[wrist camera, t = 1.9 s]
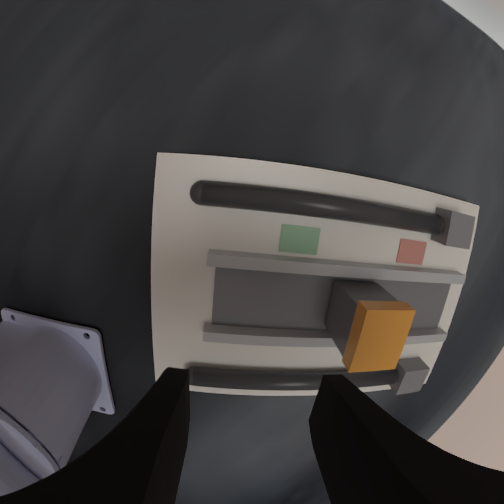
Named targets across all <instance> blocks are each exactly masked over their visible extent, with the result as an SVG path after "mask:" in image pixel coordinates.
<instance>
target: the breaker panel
mask: <svg viewBox="0 0 504 504" xmlns="http://www.w3.org/2000/svg"><path fill="white" fill-rule="evenodd" d="M478 212H479V206H478V205H475V204H471V203H468V202H465V201H461V200H458V199H454V198H451V197H447V196H444V195H440V194H436V193H432V192H429V191H425V190H421V189H417V188H413V187H409V186H404V185H400V184H396V183H391V182H387V181H382V180H377V179H373V178H368V177H363V176H358V175H352V174H347V173H342V172H336V171H330V170H324V169H318V168H312V167H306V166H299V165H292V164H285V163H277V162H269V161H261V160H252V159H242V158H232V157H221V156H209V155H195V154H178V153H157V161H156V172H155V184H154V198H153V215H152V240H151V312H152V337H153V354H154V368H155V379H156V381H157V380H158V378H159V377H160V376H161V374H162V373H163V371H164V370H165V369H166V368H168V367H173V368H181V369H189V391H197V392H208V393H220V394H236V395H261V396H306V395H317V394H318V390H319V387H320V384H321V381H322V377H323V375H336V374H342V375H343V376H345V377H346V378H347V379H348V380H349V381H351V382H352V383H353V384H354V385H355V386H356V387H358V388H359V389H360V390H361V391H362V392H369V391H378V390H386V389H392V390H393V392H394V393H395V395H399V394H405V393H411V392H417V391H420V389H421V387H422V385H423V384H425V383H426V381H427V379H428V377H429V375H430V373H431V370H432V368H433V366H434V364H435V361H436V359H437V357H438V354H439V352H440V349H441V347H442V344H443V342H444V341H445V339H446V337H447V334H448V333H447V331H448V329H449V326H450V323H451V320H452V317H453V314H454V311H455V308H456V305H457V302H458V299H459V296H460V292H461V289H462V285H463V284H464V282H465V278H466V271H467V267H468V263H469V259H470V254H471V250H472V245H473V240H474V235H475V230H476V224H477V219H478ZM335 280H347V281H363V282H377V283H378V284H379V285H380V286H381V287H383V288H384V289H385V290H386V291H388V292H389V293H390V294H391V295H392V296H394V297H395V298H396V299H397V300H398V301H401V302H406V303H408V304H409V305H410V306H411V307H412V308H414V309H415V310H416V312H415V315H414V318H413V321H412V324H411V327H410V330H409V333H408V336H407V339H406V342H405V344H404V347H403V350H402V353H401V355H400V358H399V360H398V363H397V365H396V368H395V369H391V370H380V371H367V372H351V373H348V371H347V369H346V367H345V366H344V364H343V362H342V358H343V357H342V355H341V353H340V351H339V350H338V348H337V346H336V345H335V343H334V341H333V339H332V338H331V336H330V334H329V332H328V331H327V329H326V327H325V323H326V319H327V314H328V310H329V305H330V301H331V296H332V291H333V286H334V282H335Z"/></svg>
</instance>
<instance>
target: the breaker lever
mask: <svg viewBox="0 0 504 504" xmlns="http://www.w3.org/2000/svg"><path fill="white" fill-rule="evenodd" d="M415 312H416V310H415V309H414V308H412V307H411V306H410V305H409V304H408V303H406V302H401V301H398V300H397V299H396V298H395V297H394V296H392V295H391V294H390V293H389V292H388V291H386V290H385V289H384V288H383V287H381V286H380V285H379V284H378V283H377V282H363V281H347V280H335V282H334V286H333V291H332V296H331V301H330V305H329V310H328V314H327V319H326V323H325V327H326V329H327V331H328V332H329V334H330V336H331V338H332V339H333V341H334V343H335V345H336V346H337V348H338V350H339V351H340V353H341V355H342V357H343V358H342V362H343V364H344V366H345V367H346V369H347V371H348V373H351V372H367V371H380V370H391V369H395V368H396V365H397V363H398V360H399V358H400V355H401V353H402V350H403V347H404V344H405V342H406V339H407V336H408V333H409V330H410V327H411V324H412V321H413V318H414V315H415Z"/></svg>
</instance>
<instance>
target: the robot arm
mask: <svg viewBox="0 0 504 504" xmlns="http://www.w3.org/2000/svg"><path fill="white" fill-rule="evenodd" d="M1 316H2V320H3V321H2V322H1V323H0V504H175V499H176V495H177V490H178V485H179V481H180V476H181V471H182V467H183V462H184V457H185V453H186V448H187V441H188V432H189V421H190V395H189V369H181V368H173V367H168V368H166V369H165V370H164V371H163V373H162V374H161V376H160V377H159V378H158V380H157V381H156V382H155V384H154V385H153V386H152V387H151V389H150V390H149V391H148V392H147V393H146V395H145V396H144V397H143V398H142V399H141V400H140V402H139V403H138V404H137V405H136V406H135V407H134V408H133V409H132V410H131V412H130V413H129V414H128V415H127V416H126V417H125V418H124V419H123V420H122V421H121V422H120V423H119V424H118V425H117V426H115V427H114V428H113V429H112V430H111V431H110V432H109V433H108V434H107V435H106V436H105V437H104V438H102V439H101V440H100V441H99V442H98V443H96V444H95V445H94V446H93V447H91V448H90V449H89V450H88V451H86V452H85V453H84V454H82V455H81V456H79V457H78V458H77V459H75V460H74V461H72V462H70V463H69V464H67V462H68V460H69V458H70V455H71V453H72V451H73V449H74V447H75V444H76V442H77V440H78V438H79V436H80V434H81V432H82V430H83V427H84V425H85V423H86V421H87V419H88V417H89V415H90V413H91V411H92V410H94V411H98V412H102V413H106V414H111V415H112V414H114V412H115V406H114V402H113V397H112V393H111V388H110V383H109V378H108V373H107V368H106V362H105V357H104V351H103V344H102V337H101V334H100V332H99V331H98V330H97V329H94V328H89V327H84V326H79V325H75V324H70V323H65V322H61V321H56V320H52V319H48V318H43V317H39V316H35V315H31V314H27V313H24V312H20V311H16V310H12V309H9V308H3V309H2V310H1ZM86 333H88V334H89V336H90V337H89V336H87V335H86ZM309 426H310V433H311V439H312V444H313V449H314V452H315V455H316V458H317V462H318V465H319V468H320V471H321V474H322V477H323V480H324V483H325V486H326V490H327V493H328V496H329V499H330V502H331V504H504V472H502V471H498V470H494V469H490V468H486V467H484V466H480V465H477V464H474V463H472V462H469V461H467V460H464V459H462V458H459V457H457V456H455V455H453V454H450V453H448V452H446V451H444V450H442V449H441V448H439V447H437V446H435V445H433V444H432V443H430V442H428V441H426V440H425V439H423V438H422V437H420V436H418V435H417V434H415V433H414V432H413V431H411V430H410V429H408V428H407V427H405V426H404V425H403V424H401V423H400V422H399V421H397V420H396V419H395V418H393V417H392V416H391V415H389V414H388V413H387V412H386V411H385V410H383V409H382V408H381V407H380V406H378V405H377V404H376V403H375V402H374V401H373V400H371V399H370V398H369V397H368V396H367V395H366V394H364V393H363V392H362V391H361V390H360V389H359V388H358V387H356V386H355V385H354V384H353V383H352V382H351V381H349V380H348V379H347V378H346V377H345V376H343V375H342V374H336V375H323V377H322V381H321V384H320V387H319V390H318V394H317V397H316V400H315V403H314V406H313V409H312V412H311V415H310V418H309ZM66 464H67V465H66Z"/></svg>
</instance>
